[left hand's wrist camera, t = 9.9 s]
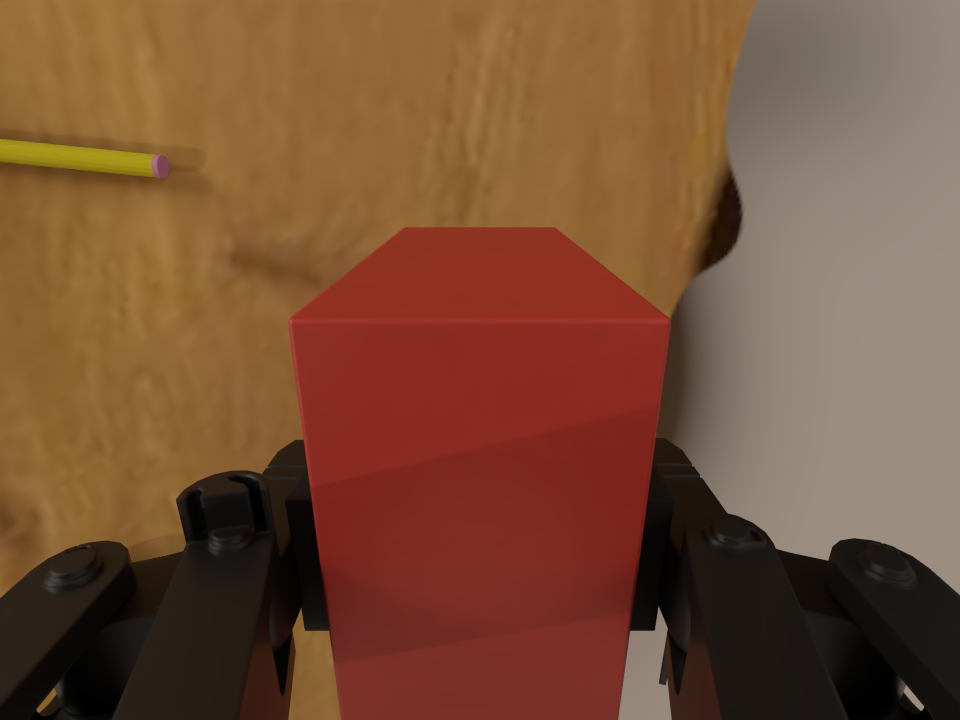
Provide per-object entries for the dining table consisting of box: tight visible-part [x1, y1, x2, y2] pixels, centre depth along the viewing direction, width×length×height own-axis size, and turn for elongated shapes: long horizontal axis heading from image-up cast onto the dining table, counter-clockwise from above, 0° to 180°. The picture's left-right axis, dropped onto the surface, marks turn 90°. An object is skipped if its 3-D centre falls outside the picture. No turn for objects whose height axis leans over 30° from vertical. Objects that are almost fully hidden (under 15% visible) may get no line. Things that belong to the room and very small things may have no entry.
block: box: [288, 228, 671, 720], centre depth 13 cm, size 9×5×10 cm, turn 0°
